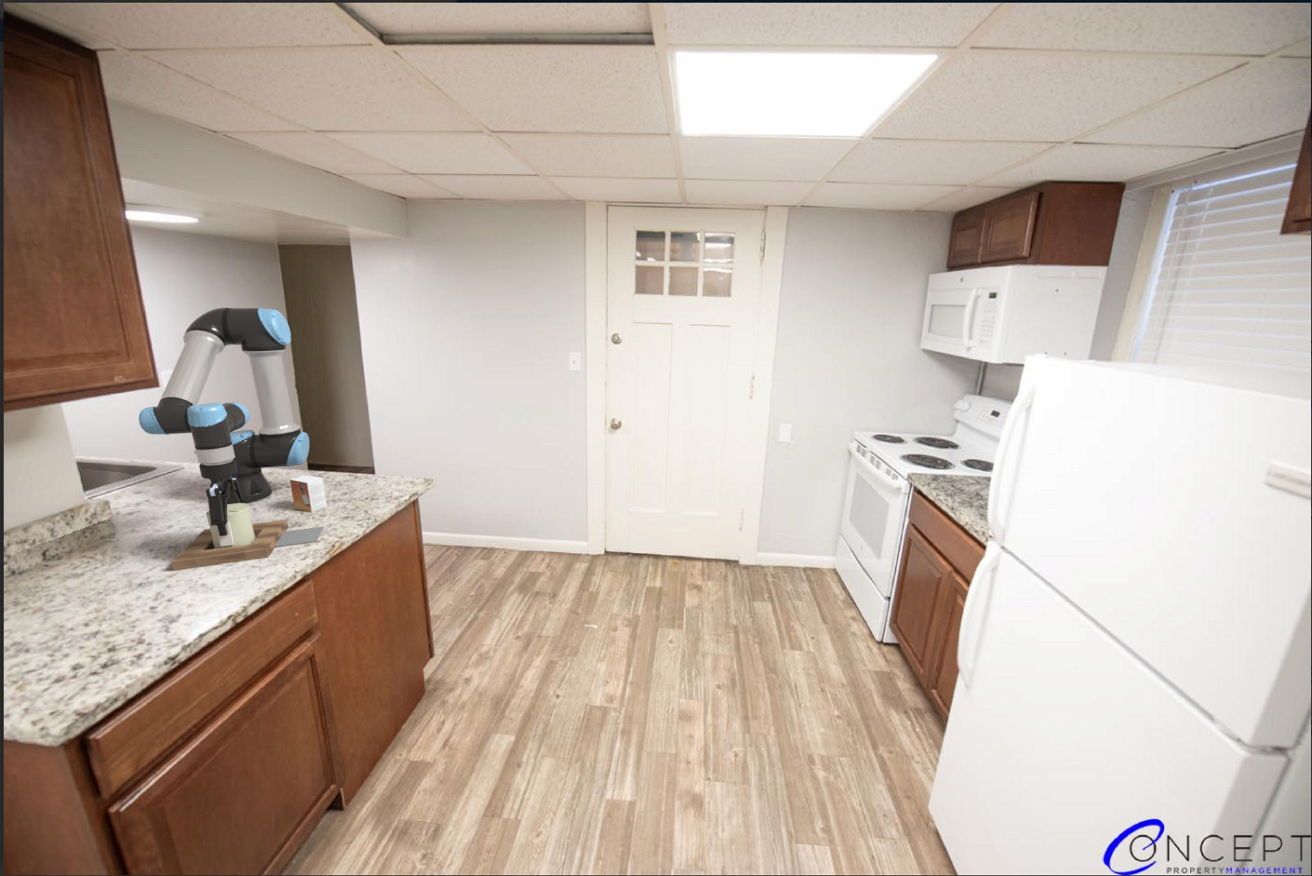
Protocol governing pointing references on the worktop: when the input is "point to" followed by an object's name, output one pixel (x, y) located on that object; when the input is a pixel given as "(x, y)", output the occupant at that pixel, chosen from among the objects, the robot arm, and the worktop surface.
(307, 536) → the mat
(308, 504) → the small box
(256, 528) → the housing
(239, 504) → the can
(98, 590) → the worktop surface
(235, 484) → the robot arm
